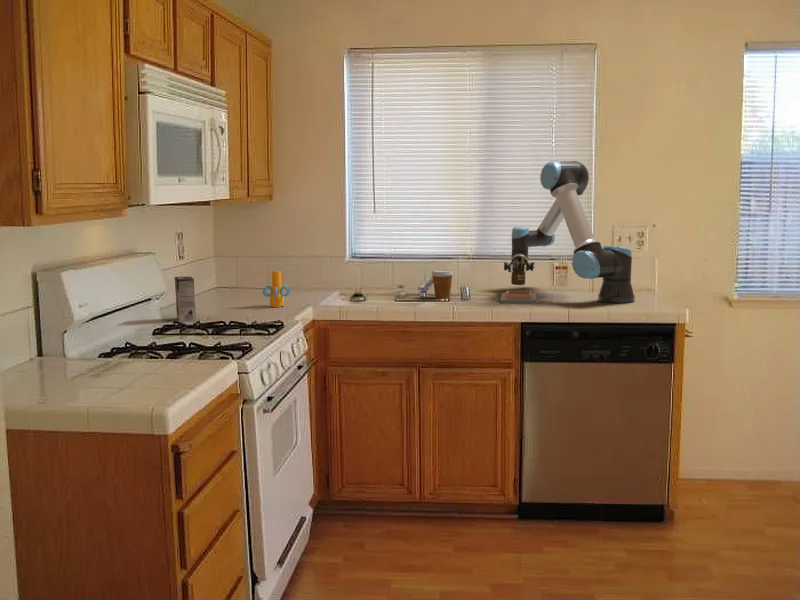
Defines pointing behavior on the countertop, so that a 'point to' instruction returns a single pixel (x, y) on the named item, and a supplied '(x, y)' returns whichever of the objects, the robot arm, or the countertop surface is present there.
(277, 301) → the cylinder
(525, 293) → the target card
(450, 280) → the disposable coffee cup
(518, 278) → the utensil holder
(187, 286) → the coffee box
